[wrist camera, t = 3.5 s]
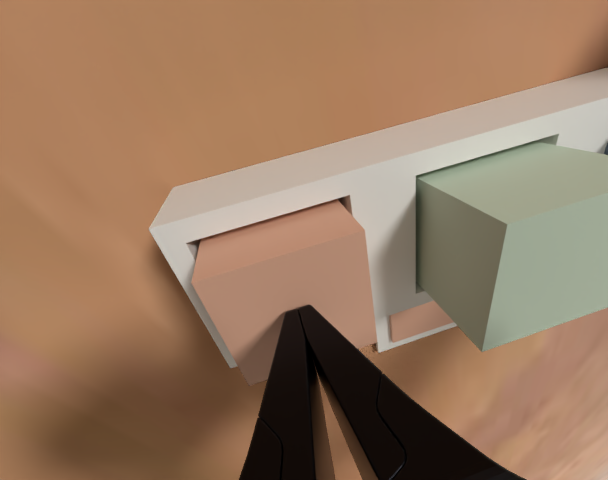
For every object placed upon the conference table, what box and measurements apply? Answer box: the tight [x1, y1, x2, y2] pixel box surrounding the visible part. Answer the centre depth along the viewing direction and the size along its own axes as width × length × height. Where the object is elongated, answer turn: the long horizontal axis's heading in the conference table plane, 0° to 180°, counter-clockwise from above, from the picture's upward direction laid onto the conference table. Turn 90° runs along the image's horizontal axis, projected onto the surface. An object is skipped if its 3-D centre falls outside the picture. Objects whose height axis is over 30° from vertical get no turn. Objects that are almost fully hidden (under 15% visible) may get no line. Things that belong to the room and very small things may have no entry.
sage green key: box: [416, 141, 608, 352], centre depth 10 cm, size 5×5×5 cm
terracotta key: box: [191, 199, 377, 386], centre depth 11 cm, size 5×5×5 cm
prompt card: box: [375, 301, 457, 353], centre depth 19 cm, size 7×6×1 cm
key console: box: [149, 67, 608, 369], centre depth 13 cm, size 23×7×4 cm, turn 102°
